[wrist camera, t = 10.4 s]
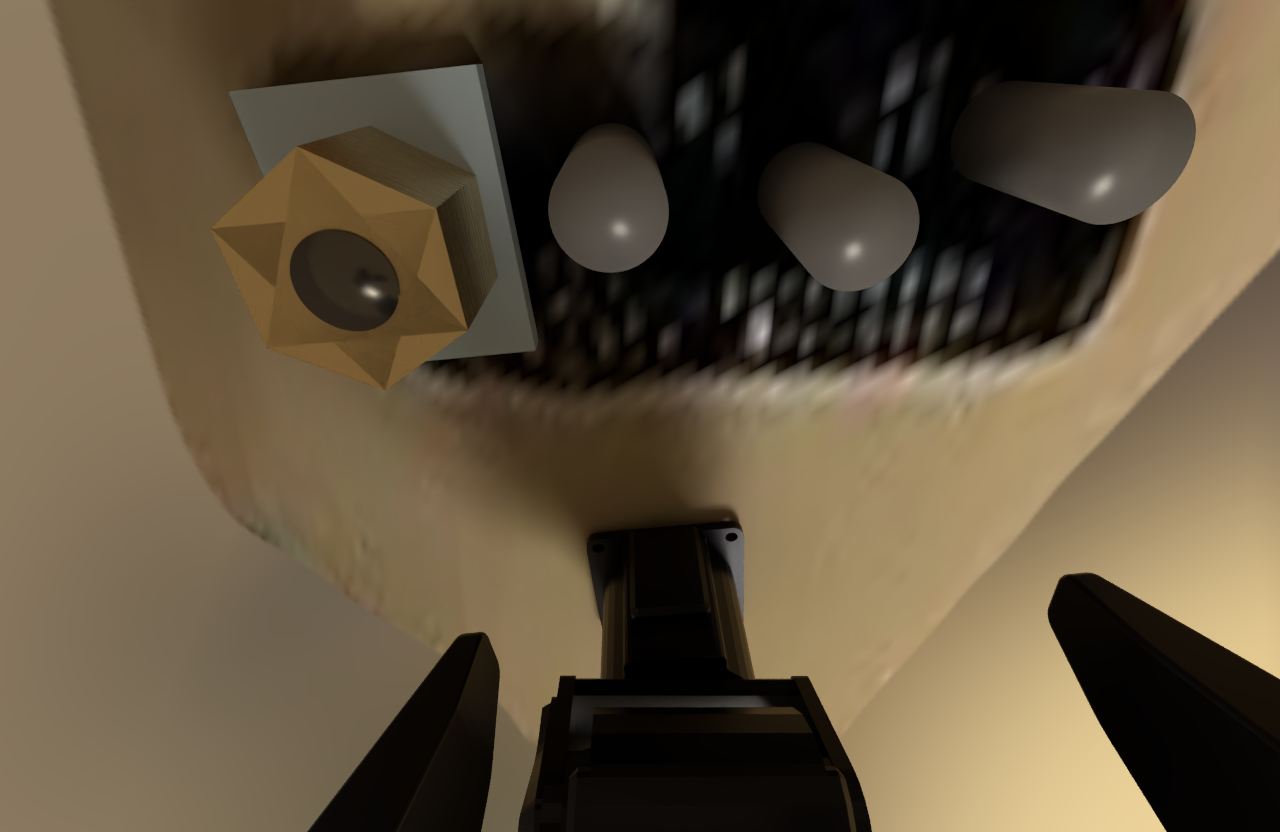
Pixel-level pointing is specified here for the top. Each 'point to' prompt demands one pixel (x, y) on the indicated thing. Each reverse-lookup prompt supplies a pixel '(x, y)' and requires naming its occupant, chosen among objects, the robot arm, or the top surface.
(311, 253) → the hex nut
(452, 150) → the pad
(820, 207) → the spacer field
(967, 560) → the top surface
